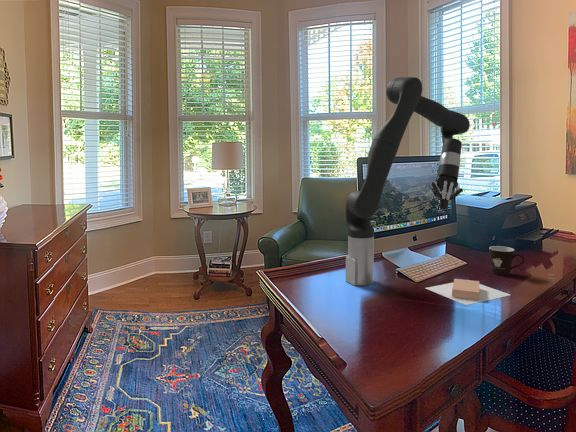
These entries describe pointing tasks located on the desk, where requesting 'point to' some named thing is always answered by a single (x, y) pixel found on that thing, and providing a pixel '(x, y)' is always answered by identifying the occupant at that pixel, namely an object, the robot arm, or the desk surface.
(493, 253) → the coffee mug
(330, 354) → the desk surface
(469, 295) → the beige rectangular box
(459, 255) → the desk surface
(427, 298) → the desk surface
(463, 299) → the mat
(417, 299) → the desk surface
